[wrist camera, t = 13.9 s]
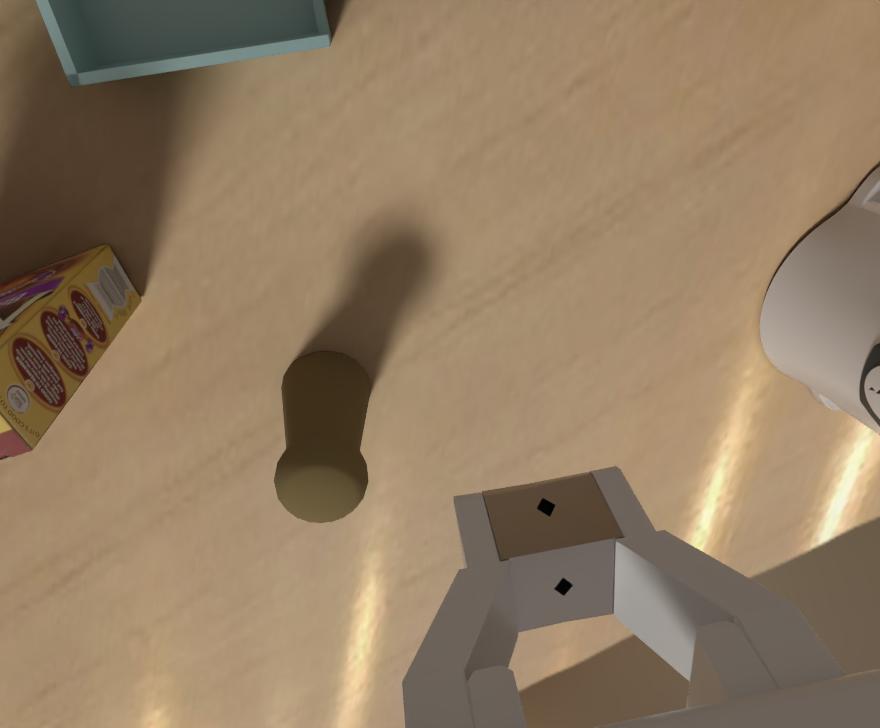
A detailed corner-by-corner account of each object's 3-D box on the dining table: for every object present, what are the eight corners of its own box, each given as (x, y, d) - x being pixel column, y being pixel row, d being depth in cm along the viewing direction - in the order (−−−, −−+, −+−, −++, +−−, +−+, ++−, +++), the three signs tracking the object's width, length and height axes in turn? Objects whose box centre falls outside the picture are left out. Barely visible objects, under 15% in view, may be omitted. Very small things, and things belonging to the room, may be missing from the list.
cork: (281, 348, 42) (262, 454, 32) (373, 352, 43) (380, 456, 33) (281, 423, 45) (264, 540, 35) (367, 425, 46) (373, 539, 36)
